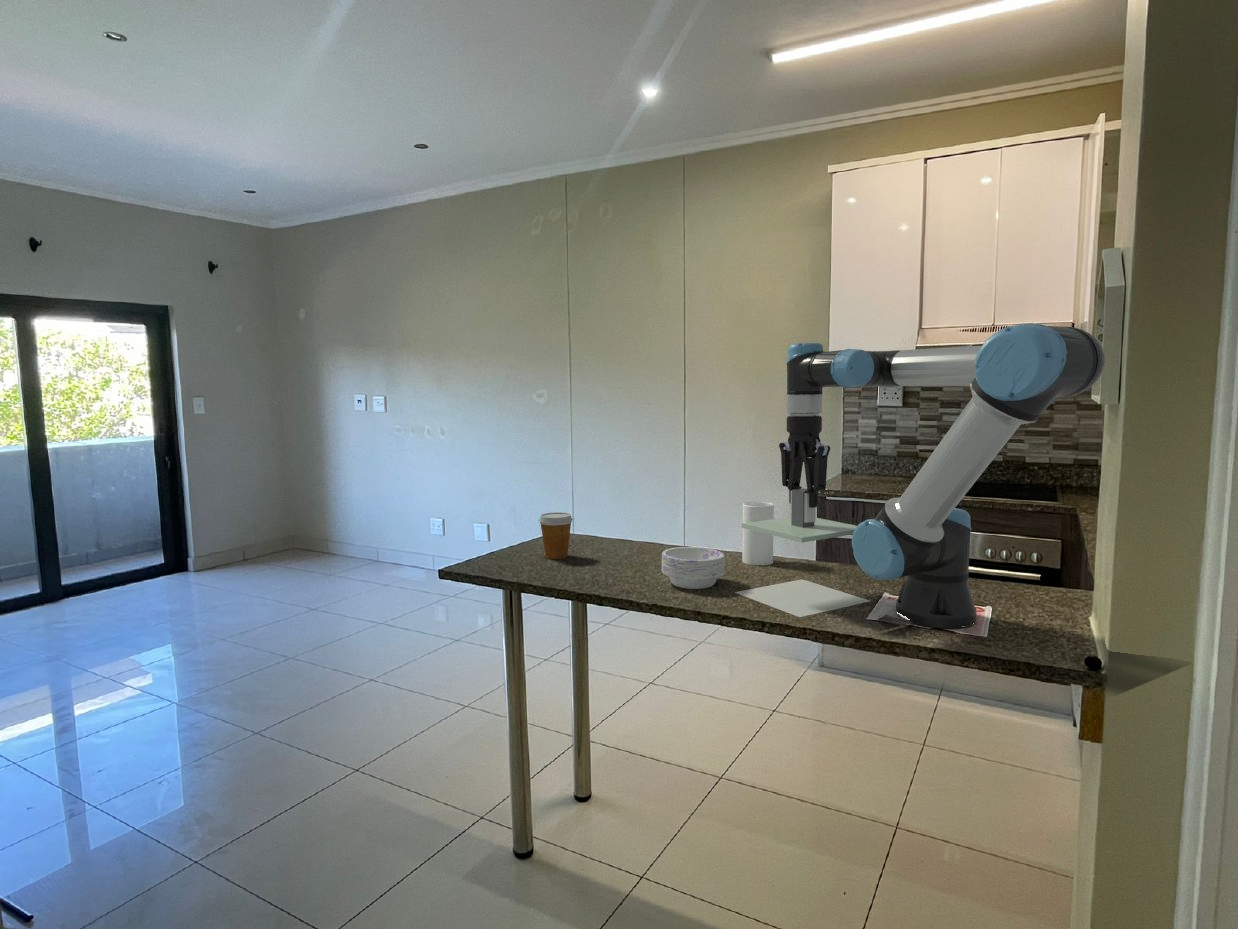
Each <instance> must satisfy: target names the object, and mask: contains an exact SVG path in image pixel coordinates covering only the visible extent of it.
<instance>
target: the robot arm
mask: <svg viewBox="0 0 1238 929" xmlns="http://www.w3.org/2000/svg"><path fill="white" fill-rule="evenodd" d="M1105 358H1106V357H1105V352H1104V349H1103V346H1102V345H1101V343H1100V341H1099V340H1098V339H1097V338H1096V337H1095V336H1094V335H1092V334H1091V333H1090V332H1088V331H1086V330H1084V329H1083V328H1078V327H1074V326H1056V325H1055V326H1054V325H1046V324H1045V325H1044V324H1041V323H1029V322H1028V323H1023V324H1016V325H1010V326H1007V327H1004V328H1002V329H999V330H998V331H996V332H995V333H993V334H992V335H991V336H990V337H988V338H987V339H986V340H985V341H984V343H983V344H982V345H970V346H968V345H966V346H952V347H935V348H917V349H901V350H900V349H899V350H898V349H897V350H882V351H881V350H864V349H861V348H860V349H858V348H856V349H855V348H846V349H841V350H840V349H839V350H831V351H830V350H829V351H824V345H823V344H822V343H820V342H819V343H818V342H805V343H804V342H803V343H792V344H791V345H789V347H788V348H787V357H786V373H787V374H786V382H787V385H786V413H787V414H789V415H787V417H786V432H787V433H789V435H788V438H787V440H786V441H784V442H780V443H779V444H778V447H779V450H780V457H781V458H780V460H781V461H780V462H781V485H782V486H783V487H786V488H787V489H788V496H789V497H788V503H789V504H790V516H789V517H790V519H791V516H792V490H794V489H803V488H802V486H800V485H801V481H802V480H801V479H802V473H803V465H804V472H805V480H806V481H805V482H806V489H807V491H805V493H804V522H805V523H808V522H815V521H816V518H817V516H816V515H817V514H816V513H817V508H818V502H819V493H820V492H822V491H825V490H826V488H827V474H828V472H827V471H828V459H829V454H830V451H831V446H830V445H825V444H823V443H822V442H821V439H820V434H821V432H822V430H823V416H821V415H820V414H821V413H822V412H823V388H826V387H827V388H845V389H846V388H848V389H849V388H860V387H861V388H862V387H863V388H865V387H867V388H868V387H884V388H893V387H965V386H966V387H970V392H971V395H972V397H971V399H970V400H969V402H968V403H967V404H966V406H965V407H964V409H963V410H962V412H961V413H960V414H959V415H958V416H957V418H956V420H955V421H954V422H953V424H952V425H951V426H950V428H949V429H948V431H947V432H946V434H944V436H943V438H942V439H941V441H939V444H938V445H937V446H936V447H935V449H934V450H933V452H932V453H931V454H930V456H929V457H928V458H927V459H926V461H925V462H924V464H923V466H922V467H921V468H920V470H919V471H918V472H917V474H916V475H915V476H914V477H913V479H912V480H911V482H910V484H909V485H908V486H907V488H906V489H905V491H904V492H903V493H902V495H901V496H899V497H892V498H890V499H888V501H886V502H885V504H884V505H883V506H882V508H881V510H880V511H879V512H878V514H877V515H876V516H875V517H874V518H870V519H866V520H864V521H862V522H859V524H858V525H856V526H857V527H856V528H855V530H854V533H853V535H851V547H852V550H853V556H854V558H855V561H856V563H857V565H858V567H860V569H861V570H862V571H863V572H864V574H867V575H868V576H869V577H870V578H873V579H875V580H879V581H887V580H891V581H892V580H893V581H894V580H897V579H899V578H904V577H905V579H904V582H903V584H902V586H901V590H900V592H899V594H898V596H897V600H896V604H895V612H896V611H897V612H898V613H900V614H902V615H903V616H906V617H907V618H908V619H910V621H909V622H911V623H912V624H916V625H920V626H924V627H930V628H935V629H937V628H938V629H958V628H957V627H962V626H968V627H971V626H970V625H972V624H973V623H975V622H976V623H977V608H976V606H975V602H974V598H973V595H972V591H971V588H970V585H969V573H970V572H969V569H970V549H971V534H972V533H971V532H972V526H971V515H970V513H969V512H968V511H967V510H965V509H962V508H956V507H957V506H958V504H960V502H961V501H962V500H963V498H964V497H965V495H966V494H967V493H968V492H969V490H970V489H971V488H972V487H973V485H974V484H975V483H976V481H977V480H978V479H979V478H980V477H981V476H982V474H983V473H984V472H985V471H986V469H987V468H988V466H989V465H990V464H991V463H992V462H993V460H994V459H995V458H996V456H998V455H999V453H1000V451H1001V449H1003V447H1005V445H1006V444H1007V443H1008V441H1009V440H1010V439H1011V437H1012V436H1013V435H1014V434H1015V433H1016V431H1017V430H1018V429H1019V427H1021V425H1024V424H1025V425H1027V424H1033V423H1036V422H1037V420H1039V418H1040V417H1042V415H1043V413H1044V412H1045V411H1046V409H1047V408H1048V407H1049V406H1050V405H1051V403H1052V402H1053V401H1054V400H1055V399H1065V398H1072V397H1074V396H1078V395H1080V394H1082V393H1083V392H1085V391H1087V390H1089V389H1090V388H1091V387H1093V386H1094V385H1095V383H1097V381H1099V378H1100V377H1101V376H1102V373H1103V370H1104V366H1105ZM976 623H975V624H976ZM972 626H973V625H972Z"/></svg>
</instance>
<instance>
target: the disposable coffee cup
mask: <svg viewBox="0 0 1238 929" xmlns="http://www.w3.org/2000/svg"><path fill="white" fill-rule="evenodd" d="M539 516H540V517H539V519H538V522H539V524H540V529H541V535H542V536H541V537H542V542H543V550H544V556H545V558H546V559H549V560H561V559H565V558H567V557H569V556H568V554H569V545H570V536H571V535H570V534H571V525H572V521H573V517H572V514H571V513H568V512H545V513H542V514H540V515H539Z"/></svg>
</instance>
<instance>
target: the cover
mask: <svg viewBox="0 0 1238 929" xmlns="http://www.w3.org/2000/svg"><path fill="white" fill-rule="evenodd" d="M805 491H807V488H804V487H803V488H801V489H794V490H792V516H791V515H790V516H788V517H780V518H774V519H771V520H764V521H756V522H749V523H743V522H742V523H741V528H742V529H743V528H745V529H749V530H753V531H757V532H761V533H765V534H769V535H773V537H777V538H782V539H786V540H790V541H794V542H798V543H808V542H814V541H822V540H826V539H832V538H840V537H847V536H853V533H854V530H855V528H856V527H857V526H858V525H855V524H851V523H849V524H848V523H845V522H839V521H835V520H829V519H824V518H820V517H816V521H815V522H808V523H805V522H804V493H805ZM790 517H791V519H790Z"/></svg>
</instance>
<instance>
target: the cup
mask: <svg viewBox="0 0 1238 929" xmlns="http://www.w3.org/2000/svg"><path fill="white" fill-rule="evenodd" d="M774 506H775V505H774V503H773V502H768V501H746V502H743V503H742V523H749V522H756V521H764V520H771V519H775V517H774V516H775V515H774V514H775V512H774V510H775V507H774ZM741 546H742V550H741V552H742V559H741V560H742V561H741V562H742V563H743V564H746V565H750V566H759V565H761V566H769V565H772V564H773V563H774V536H773V535H769V534H765V533H761V532H757V531H753V530H749V529H745V528H742V545H741Z"/></svg>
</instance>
